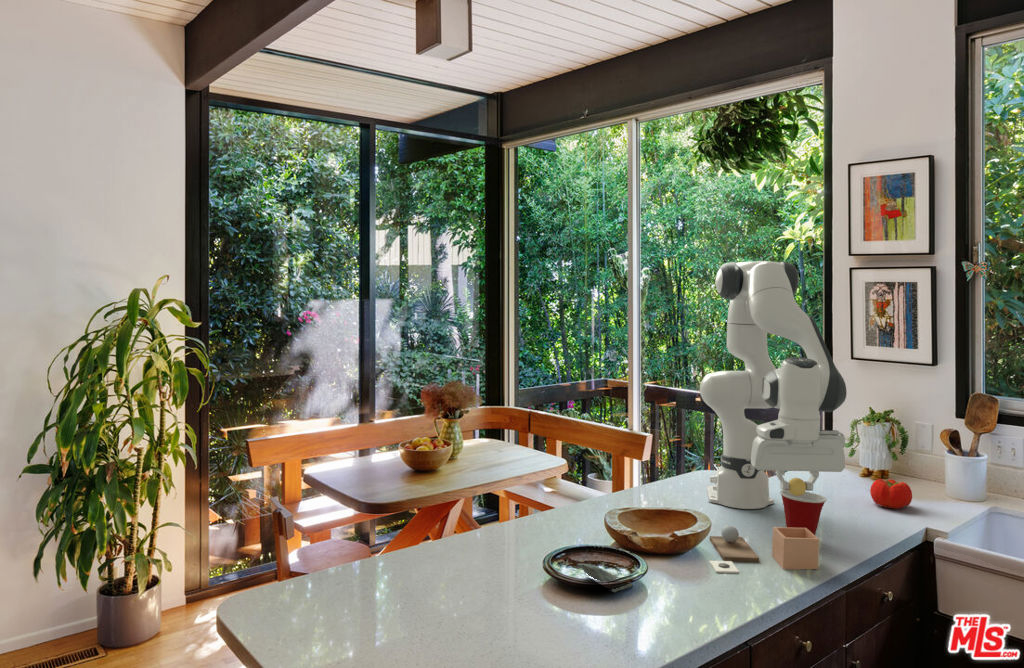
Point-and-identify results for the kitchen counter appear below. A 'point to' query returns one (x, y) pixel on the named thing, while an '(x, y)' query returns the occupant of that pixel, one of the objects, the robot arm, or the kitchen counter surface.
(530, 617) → the kitchen counter surface
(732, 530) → the grey ball
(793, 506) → the plastic cup
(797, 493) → the ochre ball
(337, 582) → the kitchen counter surface
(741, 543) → the walnut board
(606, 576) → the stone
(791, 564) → the terracotta open box
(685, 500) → the kitchen counter surface
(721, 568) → the tile
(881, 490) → the tomato
